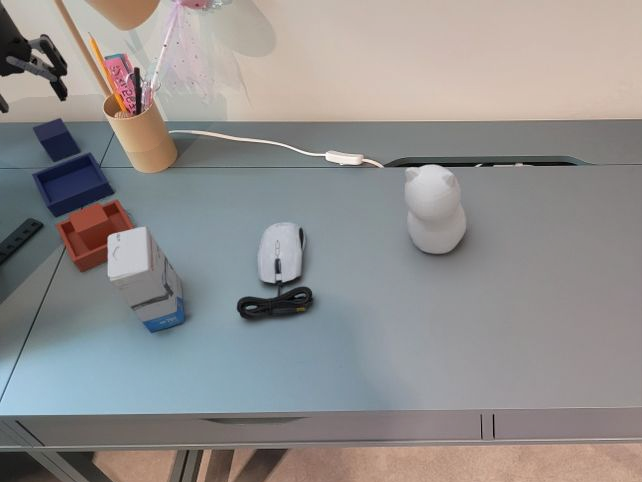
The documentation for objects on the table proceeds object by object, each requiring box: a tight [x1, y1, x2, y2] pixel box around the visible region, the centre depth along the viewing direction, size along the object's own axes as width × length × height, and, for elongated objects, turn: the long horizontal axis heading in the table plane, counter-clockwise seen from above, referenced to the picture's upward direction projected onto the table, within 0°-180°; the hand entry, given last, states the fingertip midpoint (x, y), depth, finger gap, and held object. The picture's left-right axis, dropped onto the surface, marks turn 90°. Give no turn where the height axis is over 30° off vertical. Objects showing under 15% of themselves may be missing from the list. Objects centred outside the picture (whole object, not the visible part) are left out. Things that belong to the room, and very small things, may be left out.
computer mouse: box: [236, 221, 314, 320], centre depth 94 cm, size 10×18×4 cm, turn 10°
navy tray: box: [31, 151, 115, 218], centre depth 105 cm, size 9×9×2 cm
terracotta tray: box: [55, 198, 135, 273], centre depth 98 cm, size 9×9×2 cm
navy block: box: [32, 117, 82, 163], centre depth 110 cm, size 4×4×4 cm
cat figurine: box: [403, 164, 467, 255], centre depth 95 cm, size 9×12×15 cm
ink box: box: [107, 225, 185, 333], centre depth 87 cm, size 9×5×12 cm, turn 21°
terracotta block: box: [67, 202, 118, 251], centre depth 97 cm, size 4×4×4 cm
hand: (35, 104), depth 104 cm, fingers open, 8 cm apart
